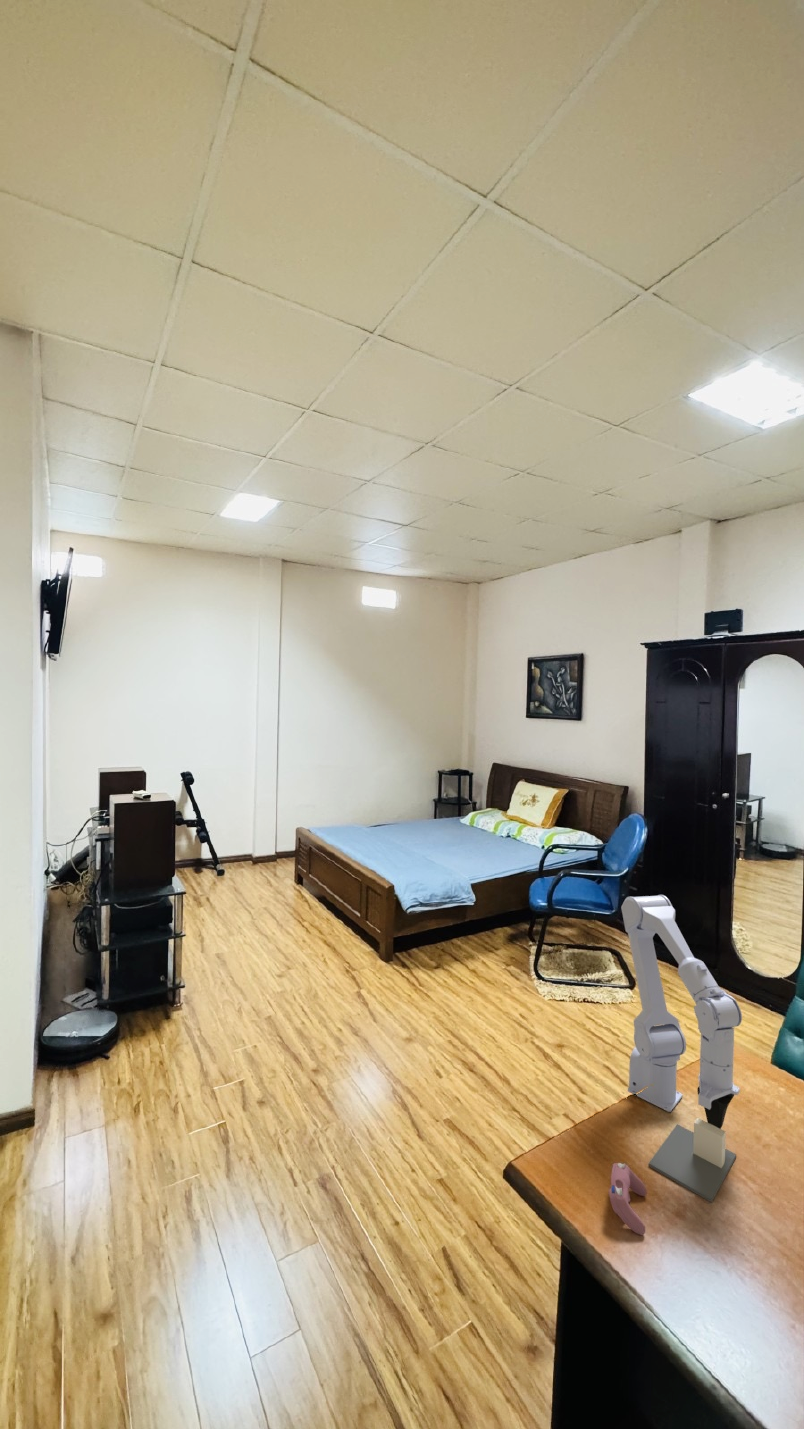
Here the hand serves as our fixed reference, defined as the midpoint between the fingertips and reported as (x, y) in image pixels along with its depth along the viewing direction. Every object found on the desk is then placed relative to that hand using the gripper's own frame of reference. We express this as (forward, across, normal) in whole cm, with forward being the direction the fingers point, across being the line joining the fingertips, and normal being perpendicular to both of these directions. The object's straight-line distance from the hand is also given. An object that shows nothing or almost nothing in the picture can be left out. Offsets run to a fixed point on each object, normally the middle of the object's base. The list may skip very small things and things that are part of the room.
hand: (714, 1126), depth 111 cm
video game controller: (+5, -26, +6) cm, 27 cm away
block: (+4, -4, 0) cm, 6 cm away
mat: (+5, -6, +2) cm, 8 cm away
